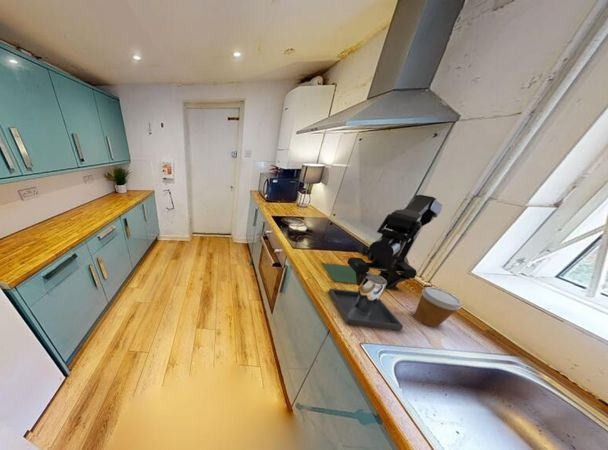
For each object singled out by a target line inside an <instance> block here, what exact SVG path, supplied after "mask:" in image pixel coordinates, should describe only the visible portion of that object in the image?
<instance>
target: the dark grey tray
mask: <svg viewBox="0 0 608 450" xmlns="http://www.w3.org/2000/svg"><path fill="white" fill-rule="evenodd" d="M327 292H328V295H329V296H330V298H331V300H332V302H333V304H334V306H335V307H336V309H337V312H339V314H340V316H341V317H342V320H343V321H344V323H345V324H346V325H349V326H358V327H366V328H374V329H381V330H388V331H395V332H396V331H397V332H401V331H402V329H403V327H404V325H403V324H402V323H401V322H400V321H399V319H397V318H396V316H395V315H394V314H393V313H392V311H391V310H390V309H389V308H388V307H387V305H385V303H384V302H383V301H382V300H381V298H379V300H378V301H377V302H376V303H375V304H374V305H373V307H372V310H371V314H370V315H362V314H360V313H358V312H356V311H355V310H354V309H353V308H352V303H353V302H354V301H355V299H356V297H357V292H358V290H356V291H355V290H347V289H340V288H339V289H338V288H329V290H328V291H327Z"/></svg>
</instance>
